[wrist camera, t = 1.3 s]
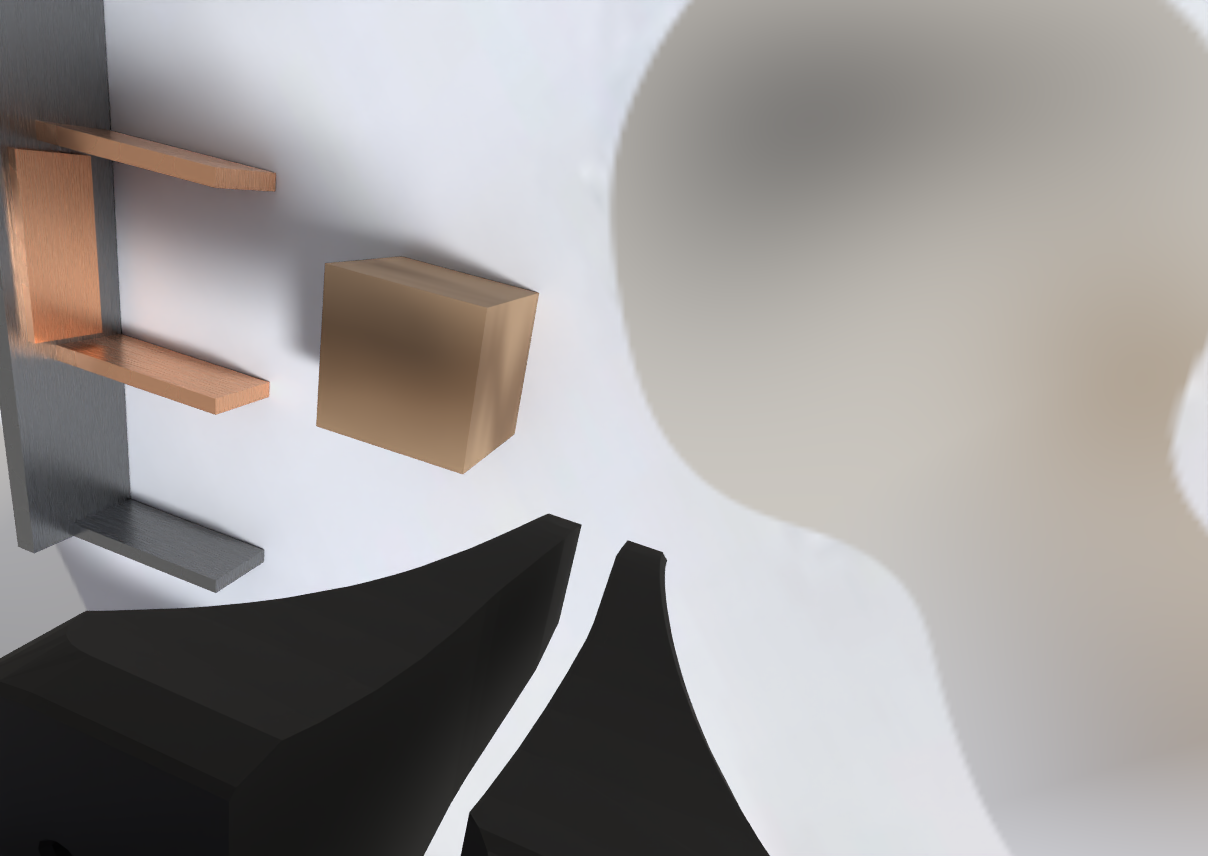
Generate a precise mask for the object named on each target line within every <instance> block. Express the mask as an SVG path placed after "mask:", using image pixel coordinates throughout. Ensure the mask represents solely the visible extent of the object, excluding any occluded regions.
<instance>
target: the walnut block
mask: <svg viewBox="0 0 1208 856" xmlns="http://www.w3.org/2000/svg"><path fill="white" fill-rule="evenodd" d="M538 296H539V293H537V292H533V291H530V290H526V289H522V288H518V287H515V286H511V285H507V284H503V283H500V282H496V281H492V280H488V279H485V278H481V277H477V276H473V275H470V274H466V273H462V272H458V271H455V270H451V269H447V268H443V267H440V266H436V265H432V264H428V263H425V262H421V261H417V260H413V259H410V258H406V257H402V256H400V257H389V258H377V259H366V260H355V261H344V262H333V263H325V273H324V291H323V310H322V329H321V347H320V366H319V385H318V404H317V422H316V426H317V427H321V428H324V429H327V430H330V431H333V432H336V433H339V434H342V435H345V436H348V437H351V438H354V439H357V440H360V441H363V442H366V443H369V444H372V445H375V446H378V447H381V448H384V449H387V450H390V451H394V452H397V453H400V454H403V455H406V456H409V457H412V458H415V459H418V460H421V461H424V462H427V463H430V464H433V465H436V466H439V467H442V468H445V469H448V470H451V471H454V472H457V473H460V474H464V473H465V472H467V471H468V470H469V469H470V468H472V467H473V466H474V465H475V464H477V463H478V462H479V461H481V460H482V459H483V458H484V457H486V456H487V455H488V454H490V453H491V452H492V451H493V450H495V449H496V448H497V447H499V446H500V445H501V444H502V443H504V442H505V441H506V440H508V439H509V438H510V437H511V436H513V435H514V433H515V428H516V422H517V416H518V411H519V405H520V399H521V393H522V388H523V382H524V376H525V370H526V365H527V359H528V353H529V348H530V342H531V336H532V330H533V325H534V319H535V313H536V307H537V302H538Z"/></svg>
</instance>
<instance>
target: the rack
mask: <svg viewBox="0 0 1208 856" xmlns="http://www.w3.org/2000/svg"><path fill="white" fill-rule="evenodd" d="M112 160H113V161H117V162H121V163H125V164H128V165H132V166H136V167H139V168H143V169H147V170H151V171H154V172H158V173H162V174H166V175H169V176H173V177H177V178H181V179H184V180H188V181H192V182H195V183H199V184H203V185H207V186H210V187H214V188H226V189H243V190H260V191H275V182H276V173H274V172H270V171H266V170H262V169H258V168H254V167H250V166H246V165H243V164H239V163H235V162H231V161H227V160H223V159H219V158H215V157H212V156H208V155H204V154H200V153H196V152H192V151H188V150H184V149H181V148H177V147H173V146H169V145H165V144H161V143H157V142H153V141H150V140H146V139H142V138H138V137H134V136H130V135H126V134H122V133H119V132H115V131H111V130H110V118H109V100H108V82H107V64H106V46H105V27H104V9H103V0H0V410H1V417H2V425H3V433H4V440H5V447H6V456H7V463H8V471H9V479H10V486H11V494H12V501H13V510H14V517H15V525H16V532H17V540H18V546H19V547H21V548H23V549H25V550H28V551H30V552H33V553H36V552H38V551H40V550H43V549H45V548H47V547H49V546H52V545H54V544H56V543H59V542H61V541H63V540H65V539H68V538H70V537H72V536H75V537H78V538H80V539H83V540H85V541H88V542H90V543H93V544H95V545H98V546H100V547H103V548H105V549H108V550H110V551H113V552H115V553H118V554H120V555H123V556H125V557H128V558H130V559H133V560H135V561H138V562H140V563H143V564H145V565H147V566H150V567H152V568H155V569H157V570H160V571H162V572H165V573H167V574H170V575H172V576H175V577H177V578H180V579H182V580H185V581H187V582H190V583H192V584H195V585H197V586H200V587H202V588H205V589H207V590H210V591H212V592H215V593H217V592H218V591H220V590H221V589H223V588H224V587H226V586H227V585H229V584H230V583H232V582H234V581H235V580H237V579H238V578H240V577H241V576H243V575H244V574H246V573H247V572H249V571H250V570H252V569H254V568H255V567H257V566H258V565H260V564H261V563H263V562H264V550H263V549H260V548H258V547H255V546H252V545H250V544H247V543H244V542H242V541H239V540H237V539H234V538H231V537H229V536H226V535H224V534H221V533H218V532H216V531H213V530H210V529H208V528H205V527H203V526H200V525H197V524H195V523H192V522H189V521H187V520H184V519H182V518H179V517H176V516H174V515H171V514H169V513H166V512H163V511H161V510H158V509H155V508H153V507H150V506H148V505H145V504H142V503H140V502H137V501H135V500H132V499H130V481H129V463H128V445H127V427H126V409H125V390H124V384H127V385H130V386H133V387H136V388H139V389H142V390H145V391H148V392H151V393H154V394H157V395H159V396H162V397H165V398H168V399H171V400H174V401H177V402H180V403H183V404H186V405H189V406H191V407H194V408H197V409H200V410H203V411H206V412H209V413H212V414H215V415H216V414H219V413H222V412H225V411H228V410H231V409H234V408H237V407H240V406H243V405H246V404H249V403H252V402H255V401H258V400H261V399H264V398H267V397H269V382H267V381H264V380H261V379H258V378H255V377H252V376H249V375H245V374H242V373H239V372H236V371H233V370H230V369H227V368H224V367H221V366H218V365H215V364H212V363H209V362H206V361H203V360H200V359H197V358H193V357H190V356H187V355H184V354H181V353H178V352H175V351H172V350H169V349H166V348H163V347H160V346H157V345H154V344H151V343H148V342H145V341H141V340H138V339H135V338H132V337H129V336H126V335H123V334H121V318H120V300H119V282H118V263H117V245H116V227H115V209H114V191H113V173H112Z"/></svg>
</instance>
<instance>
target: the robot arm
mask: <svg viewBox="0 0 1208 856" xmlns="http://www.w3.org/2000/svg"><path fill="white" fill-rule="evenodd" d="M580 529H581V524H578V523H575V522H572V521H569V520H566V519H563V518H560V517H557V516H554V515H551V514H547V515H544V516H542V517H539V518H537V519H535V520H533V521H531V522H529V523H526V524H524V525H522V526H520V527H518V528H516V529H513V530H511V531H509V532H507V533H505V534H502V535H500V536H498V537H496V538H493V539H491V540H489V541H486V542H484V543H482V544H479V545H477V546H475V547H473V548H470V549H468V550H465V551H462V552H459V553H457V554H454V555H451V556H449V557H446V558H443V559H441V560H438V561H435V562H432V563H430V564H427V565H424V566H422V567H418V568H415V569H412V570H409V571H406V572H402V573H399V574H396V575H392V576H388V577H385V578H381V579H377V580H373V581H369V582H365V583H362V584H357V585H353V586H348V587H343V588H337V589H332V590H327V591H321V592H316V593H310V594H305V595H300V596H294V597H289V598H282V599H274V600H266V601H258V602H250V603H241V604H230V605H220V606H209V607H194V608H177V609H147V610H118V611H85V612H83V613H81V614H79V615H77V616H76V617H74V618H72V619H70V620H68V621H67V622H65V623H63V624H61V625H59V626H58V627H56V628H54V629H52V630H51V631H49V632H47V633H45V634H43V635H42V636H40V637H38V638H36V639H34V640H32V641H31V642H29V643H27V644H25V645H23V646H22V647H20V648H18V649H16V650H14V651H13V652H11V653H9V654H7V655H5V656H4V657H2V658H0V856H424V854H425V852H426V850H427V848H428V846H429V844H430V842H431V840H432V839H433V837H434V835H435V833H436V831H437V829H438V827H439V825H440V823H441V821H442V819H443V817H444V815H445V814H446V812H447V810H448V808H449V806H450V804H451V802H452V801H453V799H454V797H455V796H456V794H457V792H458V791H459V789H460V787H461V785H462V784H463V782H464V780H465V779H466V777H467V776H468V774H469V772H470V771H471V769H472V768H473V766H474V765H475V763H476V762H477V760H478V759H479V757H480V755H481V754H482V752H483V751H484V749H485V748H486V746H487V745H488V743H489V742H490V740H491V739H492V737H493V735H494V734H495V732H496V731H497V729H498V728H499V726H500V725H501V723H502V722H503V720H504V719H505V717H506V715H507V714H508V712H509V711H510V709H511V708H512V706H513V705H514V703H515V702H516V700H517V698H518V697H519V695H520V694H521V692H522V691H523V689H524V688H525V686H526V684H527V683H528V681H529V680H530V678H531V676H532V675H533V673H534V672H535V670H536V668H537V666H538V664H539V662H540V660H541V658H542V656H543V654H544V652H545V650H546V648H547V646H548V644H549V641H550V639H551V637H552V635H553V633H554V631H555V629H556V627H557V624H558V622H559V619H560V615H561V610H562V606H563V602H564V598H565V593H566V589H567V585H568V581H569V576H570V572H571V568H572V564H573V559H574V555H575V551H576V547H577V542H578V538H579V534H580ZM666 562H667V560H666V558H665V556H664V554H663V552H661V551H658V550H655V549H652V548H649V547H646V546H643V545H640V544H637V543H634V542H631V541H627V542H626V543H625V544H624V546H623V547H622V548H621V550H620V551H619V553H618V554H617V556H616V558H615V561H614V564H613V567H612V570H611V573H610V576H609V579H608V582H607V585H606V588H605V591H604V594H603V597H602V600H601V603H600V606H599V609H598V612H597V615H596V618H595V620H594V623H593V625H592V628H591V630H590V632H589V635H588V637H587V639H586V641H585V643H584V644H583V646H582V648H581V650H580V651H579V653H578V655H577V657H576V658H575V660H574V662H573V664H572V665H571V667H570V669H569V671H568V672H567V674H566V676H565V677H564V679H563V680H562V682H561V684H560V685H559V687H558V689H557V690H556V692H555V694H554V695H553V697H552V698H551V700H550V702H549V703H548V705H547V707H546V708H545V710H544V711H543V713H542V714H541V716H540V717H539V719H538V720H537V722H536V723H535V725H534V726H533V728H532V729H531V730H530V732H529V733H528V735H527V736H526V738H525V739H524V741H523V742H522V744H521V745H520V747H519V748H518V750H517V751H516V752H515V754H514V755H513V756H512V758H511V759H510V760H509V762H508V763H507V764H506V766H505V767H504V768H503V770H502V771H501V772H500V774H499V775H498V776H497V778H496V779H495V780H494V782H493V783H492V784H491V786H490V787H489V788H488V790H487V791H486V793H485V794H484V795H483V796H482V798H481V799H480V800H479V801H478V802H477V804H476V805H475V806H474V807H473V809H472V810H471V811H470V812H469V817H468V822H467V827H466V832H465V837H464V842H463V847H462V852H461V856H770V855H769V854H768V852H767V851H766V850H765V848H764V847H763V845H762V844H761V842H760V840H759V839H758V837H757V836H756V834H755V832H754V831H753V829H752V827H751V826H750V824H749V822H748V821H747V819H746V817H745V816H744V814H743V812H742V811H741V809H740V807H739V805H738V803H737V801H736V799H735V797H734V795H733V793H732V791H731V789H730V788H729V786H728V784H727V782H726V780H725V778H724V776H723V774H722V772H721V770H720V768H719V766H718V764H717V762H716V760H715V758H714V756H713V754H712V752H711V750H710V748H709V746H708V743H707V741H706V739H705V736H704V734H703V732H702V729H701V727H700V724H699V722H698V720H697V717H696V714H695V712H694V709H693V706H692V704H691V701H690V698H689V695H688V692H687V689H686V686H685V683H684V680H683V677H682V673H681V670H680V666H679V663H678V659H677V655H676V651H675V647H674V643H673V638H672V634H671V628H670V622H669V616H668V611H667V603H666V593H665V566H666Z"/></svg>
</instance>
